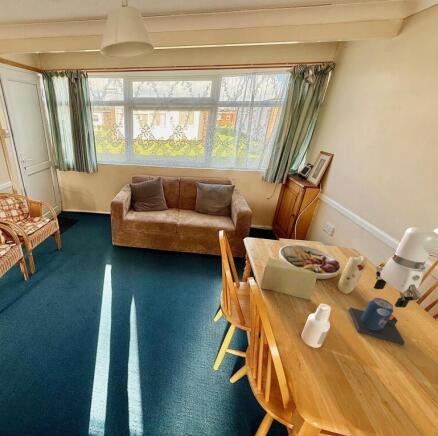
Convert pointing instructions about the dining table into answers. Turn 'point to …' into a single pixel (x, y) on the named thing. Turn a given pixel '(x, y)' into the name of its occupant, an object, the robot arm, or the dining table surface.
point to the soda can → (377, 313)
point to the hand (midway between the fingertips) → (388, 297)
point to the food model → (351, 274)
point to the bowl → (310, 260)
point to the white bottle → (317, 326)
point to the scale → (386, 333)
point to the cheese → (288, 279)
